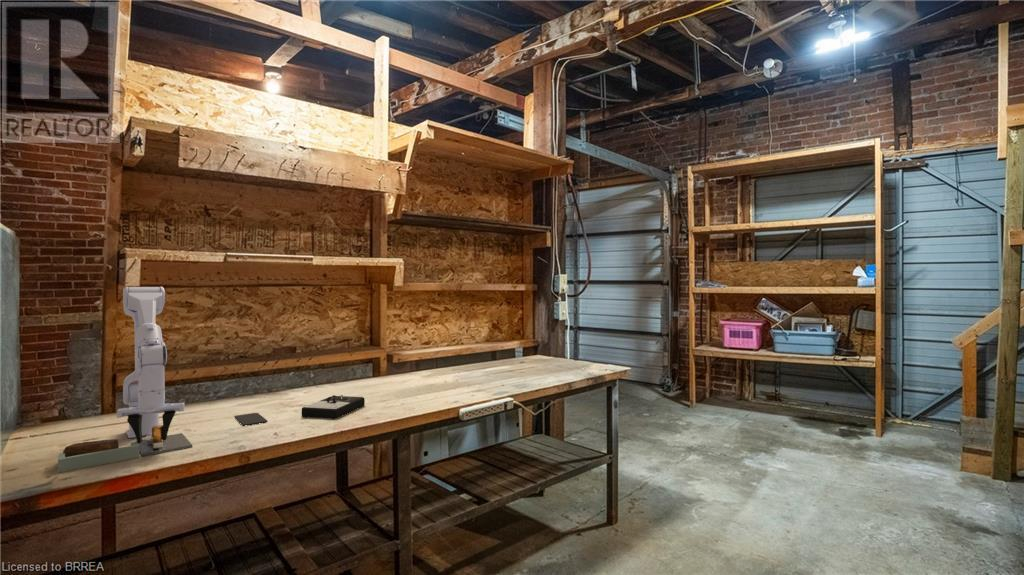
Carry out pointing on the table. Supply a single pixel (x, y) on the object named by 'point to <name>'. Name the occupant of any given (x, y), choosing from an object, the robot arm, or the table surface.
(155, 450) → the plate
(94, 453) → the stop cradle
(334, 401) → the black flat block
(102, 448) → the brick
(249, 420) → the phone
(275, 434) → the table surface
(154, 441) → the crank
